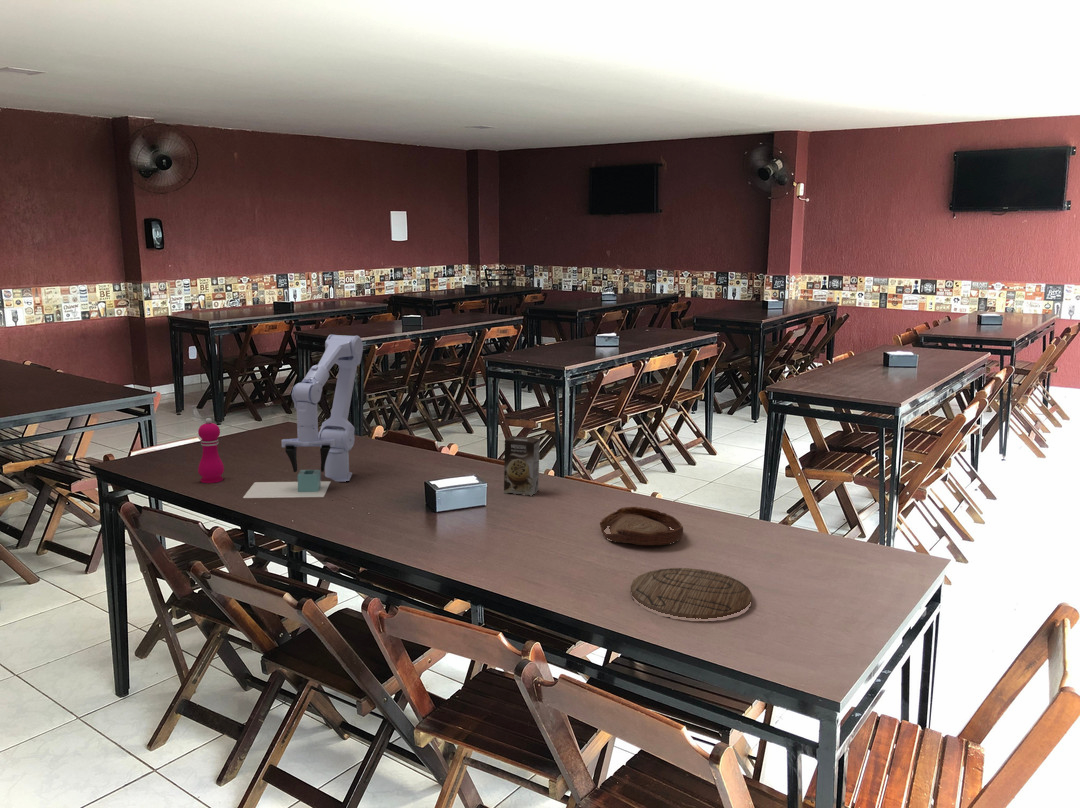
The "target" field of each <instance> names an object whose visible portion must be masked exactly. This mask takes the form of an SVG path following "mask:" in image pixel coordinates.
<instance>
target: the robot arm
mask: <svg viewBox="0 0 1080 808" xmlns="http://www.w3.org/2000/svg"><path fill="white" fill-rule="evenodd" d="M324 347H325V348H324V349H325V350H324V352H323V354H322V356H321V358H320V360H319V362H318V363H317V364H315V365H312V366H311V367H310V368H309V370H308V372H307V373H306V375H305V376H304V378H303V379H302V380H301V382H298V383H296V384H295V385H293V388H292V392H291V399H292V402H293V403H294V404H293V405H294V406H293V407H294V409H296V427H297V428H296V430H297V434H296V435H297V437H296V438H284V439H281V441H280V442H281V443H280V444H281V448H285V449H284V451H285V453H286V455H287V457H288V459H289V461H290V463H291V466H292V471H293V473H297V472H298V461H297V450H298V447H308V448H309V447H319V448H320V450H319V452H320V473H323V472H324V477H326V478H327V479H330V480H333V481H335V482H337V483H342V482H343V483H344V482H346V481H349V482H350V481H351V478H352V476H353V472H351V471H350V460H349V459H350V457H349V455H350V454H349V451H351V450H352V448H353V446H354V444H355V441H356V440H355V431H356V430H355V426H354V425H353V424H352V423H351V422H350V421H349V420H348V419H349V414H350V407H351V401H352V397H353V396H352V395H353V391H354V390H353V389H354V385H355V380H356V373H357V368H358V366H360V365H361V362H362V357H363V352H364V344H363V341H362V339H361V336H359V335H344V334H343V335H340V334H334V333H333V334H329V335H328V336H327V338H326V340H325V342H324ZM335 364H336V365H338V368H339V369H338V373H337V374H338V375H337V379H336V384H335V385H336V386H335V390H334V395H333V402H332V406H331V413H330V417H329V418H327V419H326V420H324V421H322V423H321V427H320V429H319V420H318V419H319V418H318V417H319V416H318V415H319V414H318V403H319V402H320V401H321V398H322V392H323V387H324V386H325V384H326V382H328V379H330V370H331V369H332V367H333V366H334V365H335ZM346 483H347V482H346Z"/></svg>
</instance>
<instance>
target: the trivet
mask: <svg viewBox="0 0 1080 808" xmlns="http://www.w3.org/2000/svg"><path fill="white" fill-rule="evenodd" d="M631 592H632V596H633V597H634V598H635V599H636V600H637V601H638V602H639V603H641V604H643V605H644V606H646V607H648V608H650V609H653V610H656V611H658V612H661V613H665V614H670V615H673V616H678V617H686V618H695V619H696V618H698V619H699V618H701V619H708V618H717V617H723V616H727V615H731V614H734V613H737V612H740V611H741V610H743V609H745V608H746V607H747V606H748V605H749V604H750V602H751V603H752V599H753V598H752V596H753V594H752V592H751V590H750V588H749V587H748V586H746V585H745V584H744V583H743V582H742V581H740V580H738V579H735V578H734V577H732V576H730V575H727V574H723V573H719V572H716V571H711V570H707V569H706V570H705V569H700V568H699V569H697V568H691V567H686V568H685V567H684V568H683V567H671V568H660V569H656V570H655V569H654V570H652V571H648V572H645V573H642V574H640V575H638V576H637V577H636V578H635V579H633V580H632V583H631V585H630V593H631ZM632 596H631V597H632Z"/></svg>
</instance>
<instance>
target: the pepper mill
mask: <svg viewBox="0 0 1080 808" xmlns="http://www.w3.org/2000/svg"><path fill="white" fill-rule="evenodd" d="M197 431H198V433H197V434H198V437H199V438H201V439H200V445H201V446H202V455H201V458H200V461H199V464H198V468H197V472H198V475H200V477H201V478H200V479H199V480H200V482H201V483H203V484H204V483H205V484H214V483H220V482H222V481H223V479H224V478H223V476H222V475H223V473H224V472H225V466H224V463H223V461H222V459H221V457H220V455H219V450H218V445H219V444H220V442H219V437H220V434H221V429H220V427H219V425H217V424H216V423H214V422H213V419H212V418H210V417H207V418H206V419H205V423H203V424H201V425H200V426H199V428H198V429H197Z"/></svg>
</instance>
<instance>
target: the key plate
mask: <svg viewBox="0 0 1080 808" xmlns="http://www.w3.org/2000/svg"><path fill="white" fill-rule="evenodd" d="M331 482H332V481H331V480H330V481H322V480H321V487H320V489H319V491H318V492H298V481H266V482H265V481H263V482H262V481H259V482H258V481H256V482H253V484H252V485H251V486H250V488H249V489H248V490H247V492H245V494H244V495H243V497H242V499H271V498H273V499H274V498H279V499H280V498H283V499H284V498H324V497H325V495H326V493H327V491H328V488H329V486H330V484H331Z"/></svg>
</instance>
